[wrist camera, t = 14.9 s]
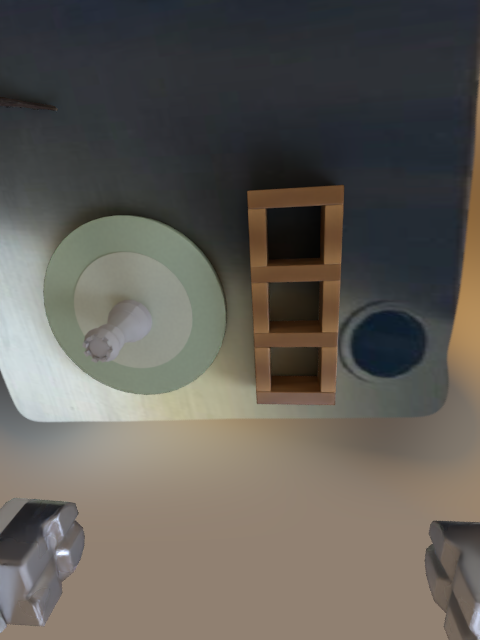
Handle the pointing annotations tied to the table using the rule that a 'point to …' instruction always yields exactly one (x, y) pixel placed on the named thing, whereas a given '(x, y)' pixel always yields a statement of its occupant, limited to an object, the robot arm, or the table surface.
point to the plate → (142, 286)
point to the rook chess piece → (118, 331)
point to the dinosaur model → (24, 104)
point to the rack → (296, 270)
